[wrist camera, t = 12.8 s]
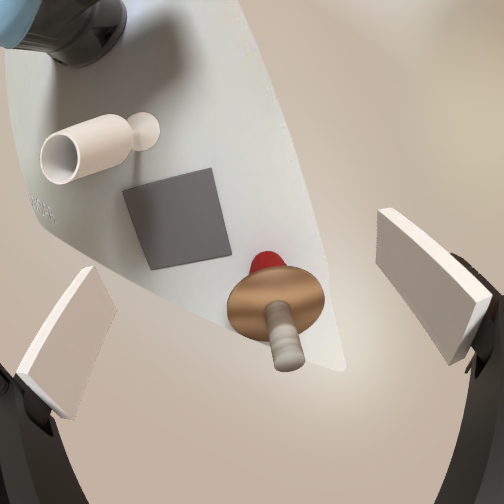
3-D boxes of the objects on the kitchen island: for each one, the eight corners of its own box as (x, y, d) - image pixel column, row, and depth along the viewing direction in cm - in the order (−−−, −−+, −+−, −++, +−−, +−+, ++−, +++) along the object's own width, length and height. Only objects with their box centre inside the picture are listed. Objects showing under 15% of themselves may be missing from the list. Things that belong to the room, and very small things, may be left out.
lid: (215, 277, 38) (216, 339, 29) (321, 256, 38) (350, 310, 29) (238, 343, 46) (243, 398, 37) (322, 326, 46) (341, 377, 37)
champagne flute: (162, 112, 38) (92, 118, 17) (157, 152, 41) (89, 197, 20) (124, 111, 37) (33, 122, 16) (120, 150, 40) (33, 193, 19)
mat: (123, 191, 44) (122, 191, 43) (211, 167, 43) (211, 168, 43) (151, 268, 51) (150, 269, 51) (231, 252, 51) (231, 254, 51)
